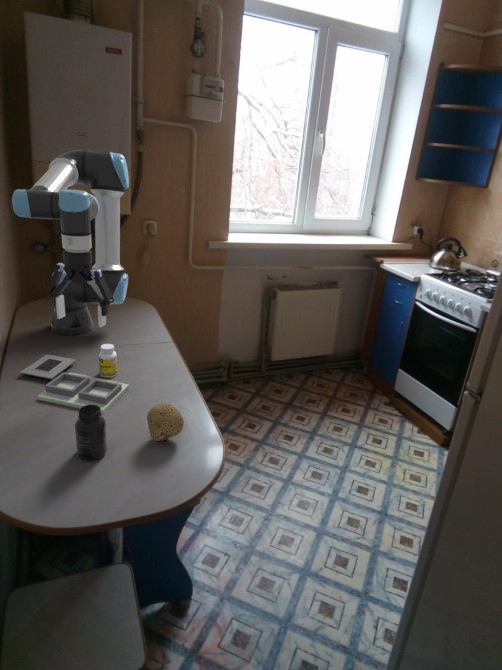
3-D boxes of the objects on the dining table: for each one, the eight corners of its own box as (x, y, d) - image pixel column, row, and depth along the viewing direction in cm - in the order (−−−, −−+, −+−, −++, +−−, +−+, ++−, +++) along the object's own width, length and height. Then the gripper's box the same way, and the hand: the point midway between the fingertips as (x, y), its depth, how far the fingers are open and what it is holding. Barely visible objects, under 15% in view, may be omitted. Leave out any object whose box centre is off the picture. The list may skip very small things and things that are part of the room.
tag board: (69, 375, 140) (69, 366, 139) (129, 388, 136) (129, 378, 135) (38, 399, 126) (37, 389, 125) (103, 413, 123) (102, 403, 122)
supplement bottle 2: (95, 375, 141) (94, 347, 138) (105, 368, 146) (104, 341, 142) (110, 379, 140) (110, 351, 136) (120, 372, 145) (119, 344, 141)
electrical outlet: (52, 384, 135) (51, 377, 135) (20, 378, 137) (19, 371, 136) (76, 365, 147) (75, 359, 146) (47, 360, 149) (46, 353, 148)
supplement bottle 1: (112, 453, 108) (111, 410, 104) (86, 465, 103) (83, 422, 99) (97, 440, 112) (95, 398, 108) (71, 451, 107) (67, 408, 103)
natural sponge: (183, 428, 120) (184, 396, 116) (183, 449, 112) (184, 415, 108) (148, 428, 119) (148, 395, 115) (145, 449, 111) (145, 415, 107)
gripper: (28, 245, 122) (36, 318, 131) (110, 258, 117) (113, 333, 126) (47, 240, 129) (53, 310, 137) (125, 253, 124) (126, 324, 132)
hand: (81, 321), depth 132 cm, fingers open, 13 cm apart
